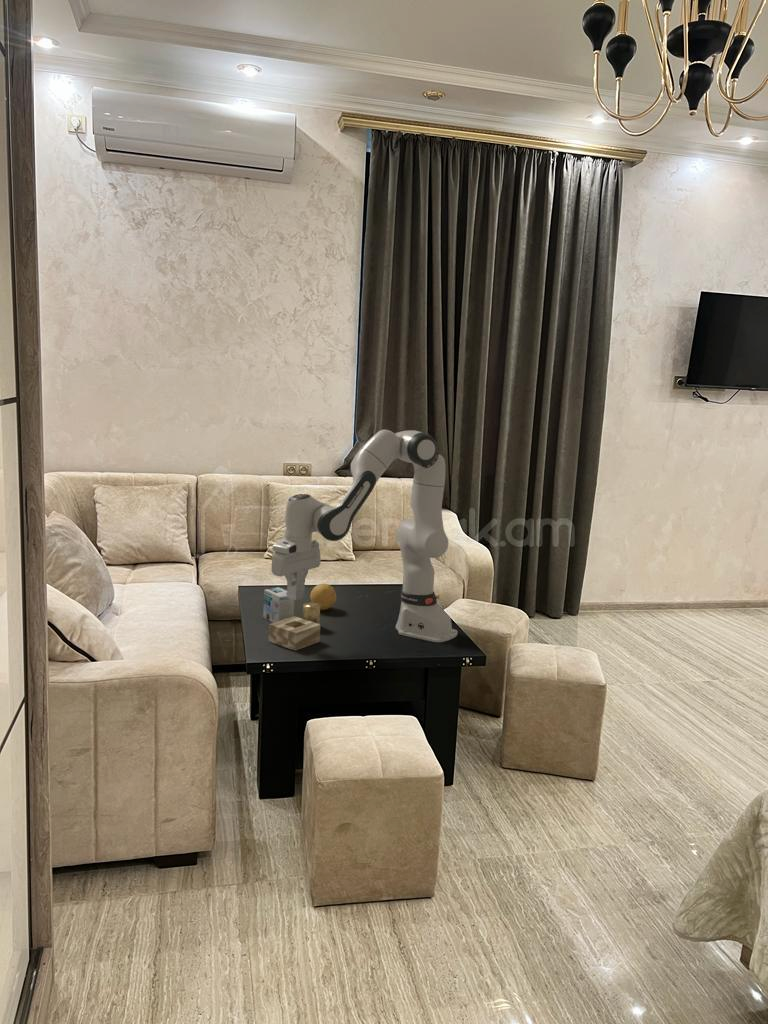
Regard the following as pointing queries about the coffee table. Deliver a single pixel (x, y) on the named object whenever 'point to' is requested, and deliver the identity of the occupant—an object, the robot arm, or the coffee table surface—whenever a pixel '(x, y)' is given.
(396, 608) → the coffee table surface
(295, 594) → the square bit
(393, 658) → the coffee table surface
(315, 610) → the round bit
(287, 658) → the coffee table surface
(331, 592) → the stress ball
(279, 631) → the socket block
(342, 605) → the coffee table surface
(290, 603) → the light bulb box
